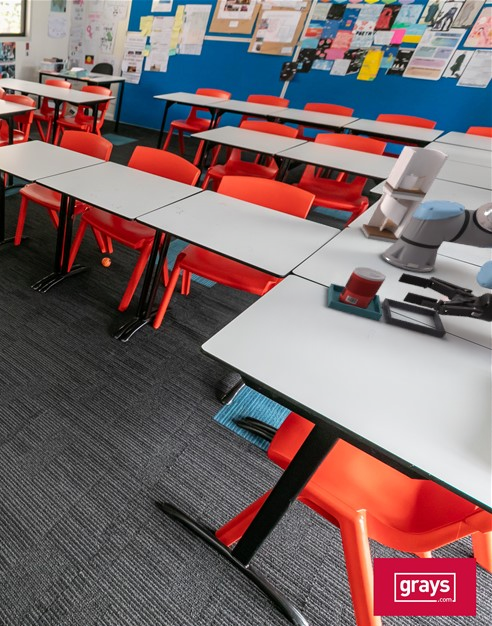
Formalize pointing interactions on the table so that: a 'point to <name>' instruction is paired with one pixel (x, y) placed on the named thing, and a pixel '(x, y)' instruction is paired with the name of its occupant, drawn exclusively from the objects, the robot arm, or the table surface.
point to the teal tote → (370, 312)
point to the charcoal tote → (415, 327)
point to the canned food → (361, 287)
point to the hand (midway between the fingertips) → (403, 286)
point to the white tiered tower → (404, 192)
